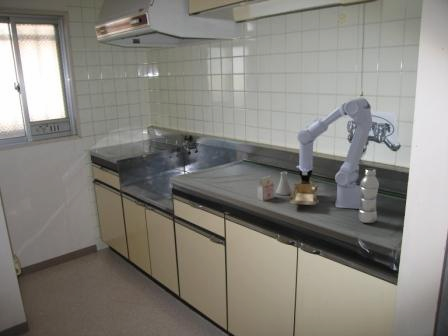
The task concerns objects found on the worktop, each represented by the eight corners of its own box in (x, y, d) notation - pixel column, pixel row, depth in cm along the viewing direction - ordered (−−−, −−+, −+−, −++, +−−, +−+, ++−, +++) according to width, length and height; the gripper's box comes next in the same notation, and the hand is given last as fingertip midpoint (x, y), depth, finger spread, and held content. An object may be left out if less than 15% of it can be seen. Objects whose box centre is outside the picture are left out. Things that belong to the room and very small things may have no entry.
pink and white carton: (257, 199, 170) (257, 177, 167) (268, 195, 173) (268, 174, 171) (262, 201, 167) (262, 179, 164) (274, 197, 170) (274, 176, 168)
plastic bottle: (357, 224, 139) (360, 171, 134) (358, 217, 145) (361, 166, 140) (376, 226, 136) (380, 172, 132) (376, 219, 142) (380, 167, 138)
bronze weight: (311, 189, 168) (312, 181, 167) (311, 193, 162) (311, 184, 161) (298, 189, 169) (298, 180, 168) (297, 192, 164) (297, 183, 163)
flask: (281, 190, 181) (281, 169, 179) (294, 192, 177) (294, 171, 175) (273, 193, 176) (273, 173, 174) (286, 196, 172) (286, 175, 169)
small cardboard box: (317, 190, 172) (317, 184, 171) (315, 205, 151) (316, 198, 151) (294, 189, 175) (294, 183, 174) (289, 203, 154) (289, 196, 153)
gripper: (298, 153, 174) (297, 181, 177) (295, 160, 160) (294, 190, 164) (313, 153, 172) (313, 182, 175) (312, 160, 158) (311, 191, 162)
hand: (305, 186), depth 169 cm, fingers closed
